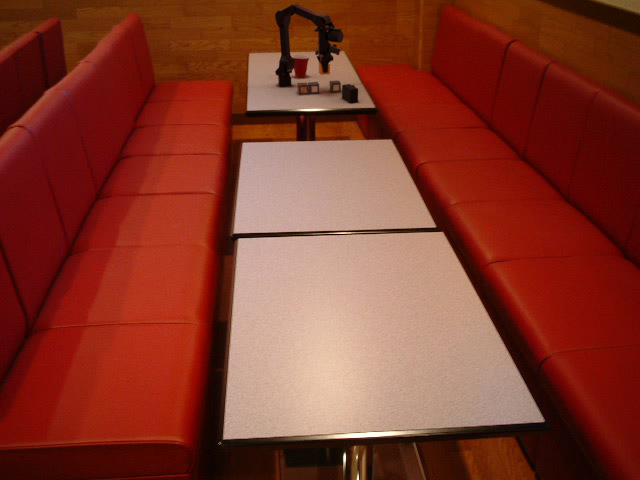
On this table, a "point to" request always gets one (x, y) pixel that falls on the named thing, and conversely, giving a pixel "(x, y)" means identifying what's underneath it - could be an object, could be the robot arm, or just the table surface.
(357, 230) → the table surface
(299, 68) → the plastic cup
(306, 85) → the walnut block
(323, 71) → the mustard block
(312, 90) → the slate block
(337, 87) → the green block
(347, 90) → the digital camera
